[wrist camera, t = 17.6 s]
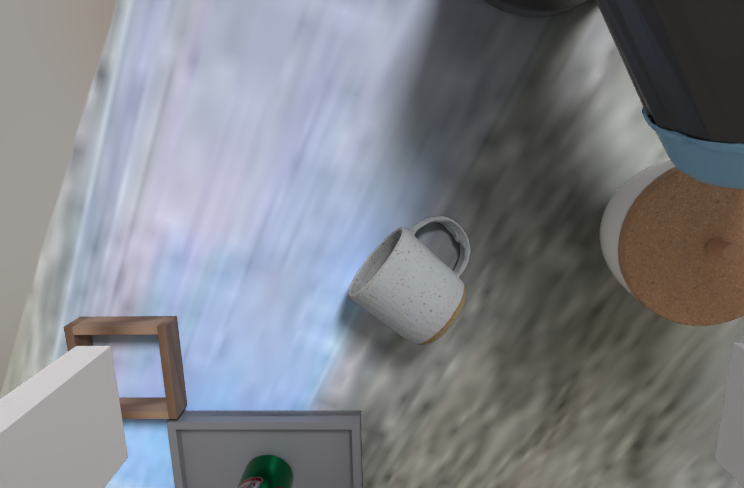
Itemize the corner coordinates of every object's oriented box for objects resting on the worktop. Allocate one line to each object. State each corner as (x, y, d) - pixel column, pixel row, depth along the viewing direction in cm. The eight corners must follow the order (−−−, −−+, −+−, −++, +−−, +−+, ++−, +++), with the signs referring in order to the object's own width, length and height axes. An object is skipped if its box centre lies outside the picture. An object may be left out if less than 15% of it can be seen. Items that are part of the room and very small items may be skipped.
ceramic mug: (414, 331, 47) (421, 367, 40) (348, 279, 46) (342, 307, 39) (488, 248, 45) (509, 270, 38) (420, 192, 44) (428, 204, 37)
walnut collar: (176, 316, 48) (165, 326, 45) (187, 404, 50) (176, 418, 47) (80, 317, 48) (63, 326, 46) (94, 404, 50) (79, 418, 48)
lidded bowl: (734, 156, 43) (852, 166, 32) (702, 293, 46) (799, 344, 35) (590, 146, 43) (658, 152, 32) (567, 283, 46) (622, 330, 35)
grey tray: (360, 410, 49) (359, 422, 47) (363, 519, 52) (362, 534, 50) (175, 410, 50) (166, 422, 48) (188, 518, 53) (181, 532, 51)
